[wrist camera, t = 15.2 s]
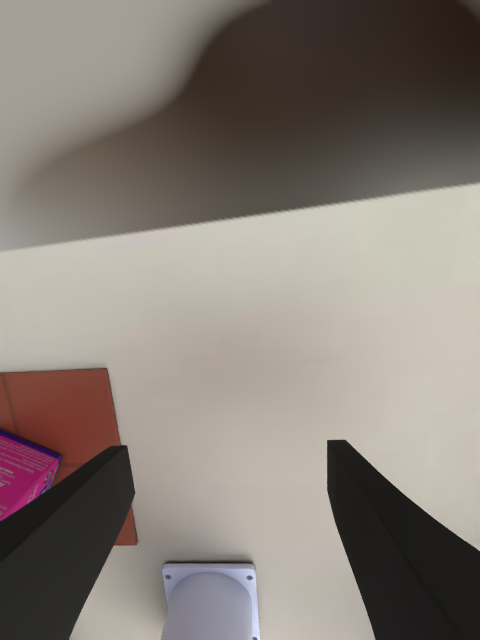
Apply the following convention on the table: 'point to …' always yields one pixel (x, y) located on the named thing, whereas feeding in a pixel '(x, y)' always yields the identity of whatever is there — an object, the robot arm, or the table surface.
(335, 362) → the table surface
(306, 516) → the table surface
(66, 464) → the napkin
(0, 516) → the supplement box
